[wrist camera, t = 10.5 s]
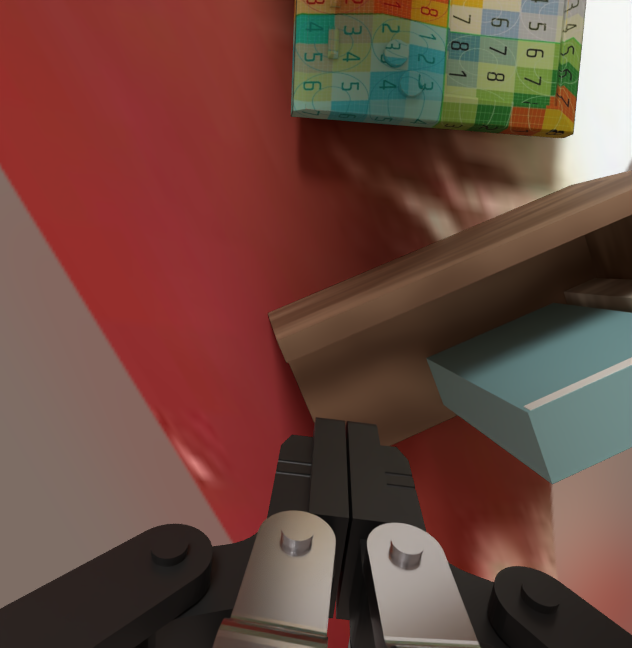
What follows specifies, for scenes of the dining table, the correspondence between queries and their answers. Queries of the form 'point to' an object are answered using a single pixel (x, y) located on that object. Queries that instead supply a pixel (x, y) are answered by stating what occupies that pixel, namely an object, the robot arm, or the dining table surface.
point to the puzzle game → (440, 63)
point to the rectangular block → (546, 386)
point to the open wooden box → (453, 304)
